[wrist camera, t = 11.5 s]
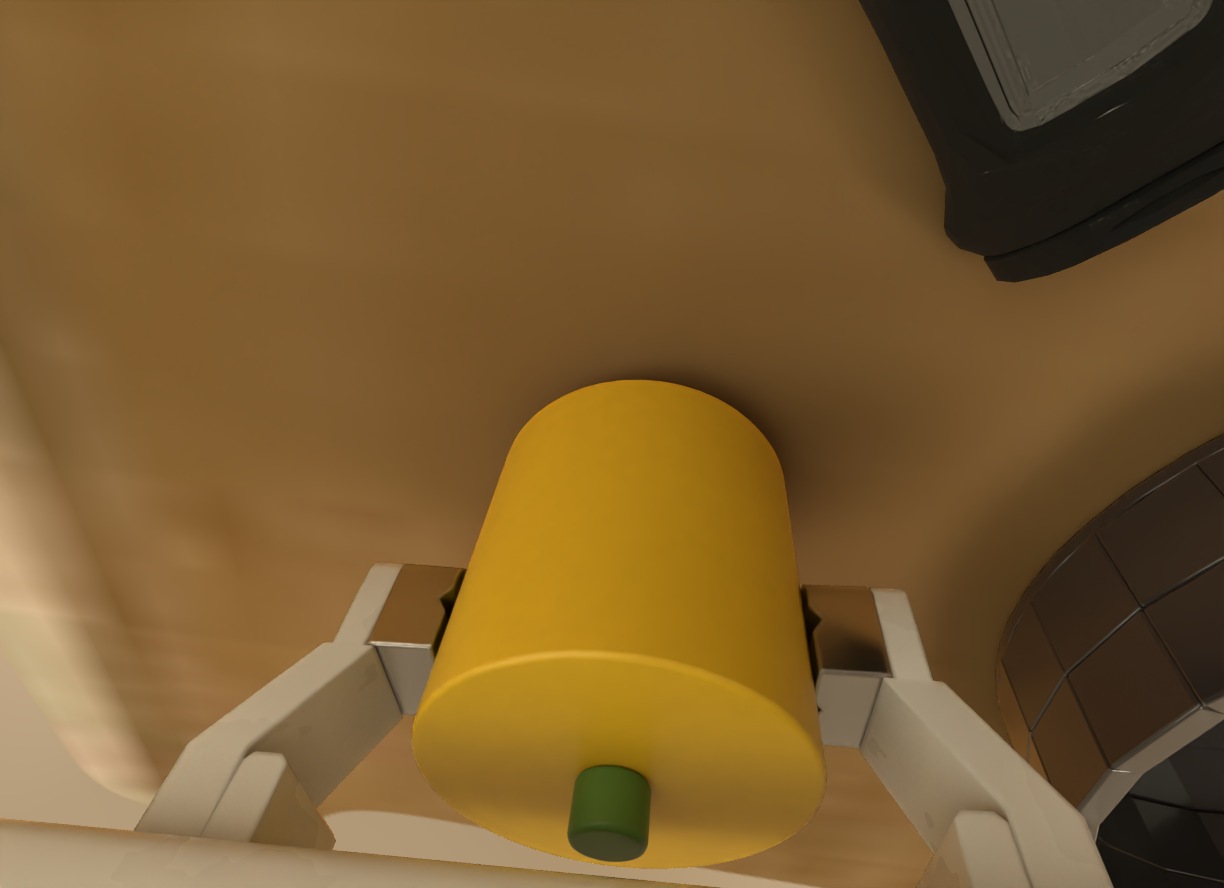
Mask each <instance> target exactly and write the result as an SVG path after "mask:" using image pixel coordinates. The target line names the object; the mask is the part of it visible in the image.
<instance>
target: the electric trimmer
mask: <svg viewBox="0 0 1224 888" xmlns="http://www.w3.org/2000/svg"><path fill="white" fill-rule="evenodd" d="M859 2H860V4H861V5H862V7H863V9H864V11H865V13H866V15H867V17H868V19H869V21H870V23H871V24H872V26H873V28H874V30H875V32H876V34H877V36H878V38H879V40H880V42H881V44H882V46H883V48H884V50H885V52H886V54H887V56H888V58H889V60H890V62H891V64H892V67H893V69H894V71H895V73H896V75H897V77H898V79H899V81H900V83H901V85H902V87H903V89H904V92H905V94H906V96H907V98H908V100H909V102H910V104H911V106H912V108H913V110H914V112H915V114H916V117H917V119H918V121H919V123H920V125H921V127H922V129H923V131H924V133H925V135H926V137H927V139H928V142H929V144H930V146H931V148H932V150H933V152H934V154H935V156H936V159H937V162H938V165H939V168H940V171H941V174H942V177H943V180H944V183H945V186H946V194H945V221H944V228H945V231H946V234H947V236H948V237H949V238H950V239H951V240H952V241H953V242H954V243H955V244H956V245H957V246H958V247H959V248H960V249H964V250H967V251H970V252H973V253H976V254H979V255H983V256H985V257H984V260H985V262H986V263H987V265H988V267H989V268H990V270H991V272H992V273H993V275H994V277H995V278H996V280H997V281H1006V282H1019V281H1024V280H1029V279H1033V278H1038V277H1043V276H1047V275H1050V274H1053V273H1056V272H1059V271H1061V270H1064V269H1067V268H1070V267H1072V266H1075V265H1077V264H1079V263H1081V262H1083V261H1086V260H1088V259H1090V258H1092V257H1094V256H1096V255H1098V254H1101V253H1103V252H1105V251H1107V250H1109V249H1111V248H1113V247H1116V246H1118V245H1120V244H1122V243H1124V242H1126V241H1128V240H1130V239H1132V238H1134V237H1136V236H1138V235H1140V234H1142V233H1144V232H1145V231H1147V230H1149V229H1151V228H1153V227H1155V226H1157V225H1159V224H1160V223H1162V222H1164V221H1166V220H1168V219H1170V218H1172V217H1174V216H1175V215H1177V214H1179V213H1181V212H1183V211H1185V210H1187V209H1188V208H1190V207H1192V206H1194V205H1196V204H1198V203H1200V202H1202V201H1203V200H1205V199H1207V198H1209V197H1211V196H1213V195H1214V194H1216V193H1218V192H1219V191H1221V190H1222V189H1224V0H859Z"/></svg>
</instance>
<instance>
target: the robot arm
mask: <svg viewBox="0 0 1224 888" xmlns="http://www.w3.org/2000/svg"><path fill="white" fill-rule="evenodd" d="M466 571H467V569H464V568H453V567H440V566H427V565H414V564H396V563H381V562H377V563H376V564H375V565H374V566H373V567H372V568H371V569H370V570H369V572H368V574H367V576H366V578H365V580H364V582H363V584H362V585H361V587H360V589H359V591H358V593H357V595H356V597H355V599H354V601H353V603H352V605H351V607H350V609H349V611H348V613H347V615H346V617H345V619H344V621H343V623H342V625H341V627H340V629H339V631H338V633H337V635H336V637H335V639H334V641H333V643H329V642H324V643H322V644H321V645H320V646H318V647H317V648H316V649H314V650H313V651H311V652H310V653H309V654H307V655H306V656H305V657H303V658H302V659H301V660H299V661H298V662H297V663H295V664H294V665H293V666H291V667H290V668H288V669H287V670H286V671H284V672H283V673H282V674H280V675H279V676H278V677H276V678H275V679H274V680H272V681H271V682H270V683H268V684H267V685H265V686H264V687H263V688H261V689H260V690H259V691H257V692H256V693H255V694H253V695H252V696H251V697H249V698H248V699H247V700H245V701H244V702H242V703H241V704H240V705H238V706H237V707H236V708H234V709H233V710H232V711H230V712H229V713H228V714H226V715H225V716H224V717H222V718H221V719H220V720H218V721H217V722H215V723H214V724H213V725H211V726H210V727H209V728H207V729H206V730H205V731H203V732H202V733H201V734H199V735H198V736H197V737H195V738H194V739H192V740H191V741H190V742H188V744H187V745H186V747H185V749H184V750H183V752H182V753H181V755H180V757H179V758H178V760H177V761H176V763H175V765H174V766H173V768H172V769H171V771H170V773H169V774H168V776H167V778H166V779H165V781H164V782H163V784H162V786H161V787H160V789H159V790H158V792H157V794H156V795H155V797H154V798H153V800H152V802H151V803H150V805H149V807H148V808H147V810H146V811H145V813H144V815H143V816H142V818H141V820H140V821H139V823H138V824H137V826H136V827H135V829H134V831H128V830H118V829H107V828H96V827H87V826H86V827H85V826H76V825H66V824H56V823H45V822H35V821H24V820H14V819H3V818H0V888H718V887H708V886H696V885H686V884H676V883H666V882H656V881H646V880H635V879H625V878H615V877H604V876H594V875H583V874H573V873H563V872H552V871H543V870H532V869H522V868H512V867H500V866H491V865H481V864H470V863H460V862H449V861H439V860H429V859H417V858H408V857H398V856H386V855H377V854H367V853H356V852H346V851H336V850H332V849H333V847H334V844H335V842H336V840H335V838H334V835H333V833H332V831H331V829H330V828H329V826H328V825H327V823H326V821H325V820H324V818H323V817H322V815H321V814H320V812H319V810H318V809H317V807H318V806H319V805H320V804H321V803H322V802H323V801H324V800H325V799H326V798H327V797H328V796H329V795H330V793H331V792H332V791H333V790H334V789H335V788H336V787H337V786H338V785H339V784H340V783H341V782H342V781H343V780H344V779H345V778H346V777H347V776H348V775H349V774H350V772H351V771H352V770H353V769H354V768H355V767H356V766H357V765H358V764H359V763H360V762H361V761H362V760H363V759H364V758H365V757H366V756H367V755H368V754H369V753H370V752H371V750H372V749H373V748H374V747H375V746H376V745H377V744H378V743H379V742H380V741H381V740H382V739H383V738H384V737H385V736H386V735H387V734H388V733H389V732H390V731H391V729H392V728H393V727H394V726H395V725H396V724H397V723H398V722H399V721H400V720H401V719H402V718H403V716H402V714H405V715H416V712H417V709H418V706H419V704H420V701H421V698H422V695H423V692H424V690H425V687H426V684H427V681H428V678H429V676H430V673H431V670H432V667H433V664H434V661H435V659H436V656H437V653H438V650H439V647H440V645H441V642H442V639H443V636H444V633H445V630H446V628H447V625H448V622H449V619H450V616H451V614H452V611H453V608H454V605H455V602H456V599H457V597H458V594H459V591H460V588H461V585H462V583H463V580H464V577H465V574H466ZM800 591H801V598H802V605H803V612H804V619H805V625H806V632H807V639H808V646H809V653H810V660H811V667H812V674H813V681H814V688H815V695H816V702H817V709H818V716H819V723H820V730H821V737H822V744H823V745H833V746H843V747H853V748H860V750H859V751H860V753H861V754H862V756H863V757H864V758H865V760H866V761H867V763H868V764H869V765H870V767H871V768H872V769H873V771H874V772H875V774H876V775H877V776H878V778H879V779H880V780H881V782H882V783H883V785H884V786H885V787H886V789H887V790H888V792H889V793H890V794H891V796H892V797H893V798H894V800H895V801H896V803H897V804H898V805H899V807H900V808H901V809H902V811H903V812H904V814H905V815H906V816H907V818H908V819H909V821H910V822H911V823H912V825H913V826H914V827H915V829H916V830H917V832H918V833H919V834H920V836H921V837H922V838H923V840H924V841H925V843H926V844H927V845H928V847H929V848H930V850H931V851H932V852H933V854H934V856H933V858H932V859H931V861H930V863H929V865H928V866H927V868H926V870H925V872H924V874H923V875H922V877H921V879H920V881H919V882H918V884H917V886H916V888H1114V887H1113V885H1112V883H1111V880H1110V878H1109V875H1108V873H1107V871H1106V868H1105V866H1104V863H1103V861H1102V859H1101V856H1100V854H1099V852H1098V849H1097V847H1096V844H1095V842H1094V840H1093V837H1092V835H1091V832H1090V830H1089V828H1088V825H1087V823H1086V821H1085V818H1084V816H1083V815H1082V814H1080V813H1079V812H1078V811H1077V810H1076V809H1075V808H1074V807H1073V806H1072V805H1071V804H1070V803H1069V802H1068V801H1067V800H1066V799H1065V798H1064V797H1063V796H1062V795H1061V794H1060V793H1059V792H1058V791H1057V790H1056V789H1055V788H1054V787H1052V786H1051V785H1050V784H1049V783H1048V782H1047V781H1046V780H1045V779H1044V778H1043V777H1042V776H1041V775H1040V774H1039V773H1038V772H1037V771H1036V770H1035V769H1034V768H1033V767H1032V766H1031V765H1030V764H1029V763H1028V762H1027V761H1026V760H1025V759H1023V758H1022V757H1021V756H1020V755H1019V754H1018V753H1017V752H1016V751H1015V750H1014V749H1013V748H1012V747H1011V746H1010V745H1009V744H1008V743H1007V742H1006V741H1005V740H1004V739H1003V738H1002V737H1001V736H1000V735H999V734H998V733H997V732H995V731H994V730H993V729H992V728H991V727H990V726H989V725H988V724H987V723H986V722H985V721H984V720H983V719H982V718H981V717H980V716H979V715H978V714H977V713H976V712H975V711H974V710H973V709H972V708H971V707H970V706H969V705H967V704H966V703H965V702H964V701H963V700H962V699H961V698H960V697H959V696H958V695H957V694H956V693H955V692H954V691H953V690H952V689H951V688H950V687H949V686H948V685H947V684H946V683H945V682H941V681H933V678H932V674H931V671H930V668H929V664H928V661H927V658H926V655H925V651H924V648H923V645H922V642H921V638H920V635H919V632H918V628H917V625H916V622H915V619H914V615H913V612H912V609H911V606H910V602H909V599H908V596H907V594H906V593H905V591H904V590H903V589H892V588H871V587H869V588H867V587H857V586H831V585H805V584H803V586H802V588H801V590H800Z"/></svg>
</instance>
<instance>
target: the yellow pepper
mask: <svg viewBox="0 0 1224 888" xmlns="http://www.w3.org/2000/svg"><path fill="white" fill-rule="evenodd" d="M412 750H413V754H414V757H415V761H416V764H417V766H418V768H419V770H420V772H421V774H422V775H423V777H424V779H425V780H426V781H427V782H428V784H429V785H430V786H431V788H432V789H433V790H434V791H435V792H436V793H437V794H438V795H439V796H440V797H441V798H442V799H443V800H444V801H445V802H446V803H447V804H449V805H450V806H451V807H452V808H454V809H455V810H456V811H458V812H459V813H460V814H462V815H463V816H465V817H466V818H468V819H470V820H471V821H473V822H474V823H476V824H478V825H480V826H481V827H483V828H485V829H487V830H489V831H491V832H493V833H495V834H498V835H499V836H502V837H504V838H506V839H508V840H511V841H513V842H516V843H519V844H521V845H524V846H527V847H530V848H532V849H535V850H539V851H542V852H545V853H549V854H552V855H556V856H560V857H564V858H568V859H573V860H577V861H583V862H588V863H594V864H600V865H608V866H616V867H629V868H650V869H651V868H652V869H655V868H656V869H667V868H687V867H696V866H705V865H712V864H717V863H723V862H728V861H732V860H736V859H740V858H744V857H747V856H751V855H753V854H756V853H759V852H762V851H764V850H767V849H769V848H771V847H773V846H775V845H777V844H779V843H781V842H783V841H785V840H786V839H788V838H789V837H791V836H792V835H794V834H795V833H797V832H798V831H799V830H800V829H801V828H802V827H804V826H805V825H806V824H807V823H808V822H809V821H810V819H811V818H812V817H813V815H814V814H815V813H816V811H817V810H818V808H819V806H820V803H821V801H822V799H823V796H824V793H825V788H826V781H827V774H826V765H825V757H824V750H823V744H822V737H821V730H820V723H819V716H818V709H817V702H816V695H815V688H814V681H813V674H812V667H811V660H810V653H809V646H808V639H807V632H806V625H805V619H804V612H803V605H802V598H801V591H800V584H799V577H798V570H797V563H796V556H795V549H794V542H793V535H792V528H791V521H790V514H789V507H788V501H787V494H786V487H785V480H784V475H783V471H782V468H781V465H780V461H779V459H778V457H777V455H776V453H775V451H774V449H773V447H772V446H771V445H770V443H769V442H768V440H767V439H766V438H765V436H764V435H763V434H762V433H761V432H760V430H759V429H758V428H757V427H756V426H755V425H754V424H753V423H752V422H751V421H750V420H749V419H747V418H746V417H745V416H743V415H742V414H741V413H740V412H738V411H737V410H736V409H735V408H733V407H731V406H729V405H728V404H726V403H724V402H723V401H721V400H719V399H718V398H715V397H713V396H711V395H708V394H706V393H704V392H702V391H699V390H696V389H693V388H689V387H686V386H683V385H679V384H674V383H668V382H663V381H653V380H618V381H611V382H605V383H599V384H595V385H592V386H588V387H584V388H581V389H578V390H576V391H574V392H571V393H569V394H566V395H564V396H562V397H561V398H559V399H557V400H555V401H554V402H552V403H550V404H548V405H547V406H546V407H544V408H543V409H542V410H541V411H539V412H538V413H537V414H535V415H534V416H533V417H532V418H531V419H530V420H529V421H528V423H527V424H526V425H525V426H524V427H523V428H522V430H521V431H520V432H519V434H518V435H517V437H516V438H515V440H514V442H513V444H512V446H511V449H510V451H509V453H508V456H507V459H506V461H505V464H504V467H503V470H502V473H501V476H500V478H499V481H498V484H497V487H496V490H495V492H494V495H493V498H492V501H491V504H490V507H489V509H488V512H487V515H486V518H485V521H484V523H483V526H482V529H481V532H480V535H479V538H478V540H477V543H476V546H475V549H474V552H473V554H472V557H471V560H470V563H469V566H468V568H467V571H466V574H465V577H464V580H463V583H462V585H461V588H460V591H459V594H458V597H457V599H456V602H455V605H454V608H453V611H452V614H451V616H450V619H449V622H448V625H447V628H446V630H445V633H444V636H443V639H442V642H441V645H440V647H439V650H438V653H437V656H436V659H435V661H434V664H433V667H432V670H431V673H430V676H429V678H428V681H427V684H426V687H425V690H424V692H423V695H422V698H421V701H420V704H419V706H418V709H417V712H416V715H415V718H414V722H413V727H412Z"/></svg>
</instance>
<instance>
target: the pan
mask: <svg viewBox="0 0 1224 888" xmlns="http://www.w3.org/2000/svg"><path fill="white" fill-rule="evenodd" d="M995 677H996V687H997V697H998V700H999V710H1000V713H1001V716H1002V719H1003V721H1004V724H1005V727H1006V730H1007V732H1008V735H1009V738H1010V741H1011V743H1012V746H1013V749H1014V750H1015V751H1016V752H1017V753H1018V754H1019V755H1020V756H1021V757H1022V758H1023V759H1025V760H1026V761H1027V762H1028V763H1029V764H1030V765H1031V766H1032V767H1033V768H1034V769H1035V770H1036V771H1037V772H1038V773H1039V774H1040V775H1041V776H1042V777H1043V778H1044V779H1045V780H1046V781H1047V782H1048V783H1049V784H1050V785H1051V786H1052V787H1054V788H1055V789H1056V790H1057V791H1058V792H1059V793H1060V794H1061V795H1062V796H1063V797H1064V798H1065V799H1066V800H1067V801H1068V802H1069V803H1070V804H1071V805H1072V806H1073V807H1074V808H1075V809H1076V810H1077V811H1078V812H1079V813H1080V814H1082V815H1083V816H1084V818H1085V821H1086V823H1087V825H1088V828H1089V830H1090V832H1091V835H1092V837H1093V840H1094V842H1095V844H1096V847H1097V849H1098V852H1099V854H1100V856H1101V859H1102V861H1103V863H1104V866H1105V868H1106V871H1107V873H1108V875H1109V878H1110V880H1111V883H1112V885H1113V887H1114V888H1224V434H1223V435H1221V436H1219V437H1217V438H1215V439H1213V440H1211V441H1210V442H1208V443H1206V444H1204V445H1202V446H1200V447H1198V448H1196V449H1195V450H1193V451H1191V452H1189V453H1187V454H1185V455H1184V456H1182V457H1181V458H1179V459H1178V460H1176V461H1175V462H1173V463H1171V464H1170V465H1168V466H1167V467H1165V468H1164V469H1162V470H1160V471H1159V472H1157V473H1156V474H1154V475H1153V476H1151V477H1150V478H1148V479H1146V480H1145V481H1143V482H1142V483H1140V484H1139V485H1137V486H1135V487H1134V488H1133V489H1131V490H1130V491H1129V492H1127V493H1126V494H1125V495H1123V496H1122V497H1121V498H1120V499H1118V500H1117V501H1116V502H1114V503H1113V504H1112V505H1111V506H1109V507H1108V508H1107V509H1105V510H1104V511H1103V512H1102V513H1100V514H1099V515H1098V516H1096V517H1095V518H1094V519H1092V520H1091V521H1090V522H1089V523H1088V524H1087V525H1086V526H1084V527H1083V528H1082V529H1081V530H1080V531H1079V532H1078V533H1077V534H1076V535H1075V536H1074V537H1073V538H1072V539H1071V540H1070V541H1069V542H1068V543H1067V544H1066V545H1065V546H1064V547H1062V548H1061V549H1060V550H1059V551H1058V552H1057V553H1056V554H1055V555H1054V556H1053V557H1052V559H1051V560H1050V561H1049V562H1048V564H1047V565H1046V566H1045V567H1044V568H1043V570H1042V571H1041V572H1040V573H1039V575H1038V576H1037V577H1036V578H1035V579H1034V581H1033V582H1032V583H1031V584H1030V586H1029V587H1028V588H1027V590H1026V591H1025V593H1024V595H1023V596H1022V598H1021V600H1020V601H1019V603H1018V605H1017V606H1016V608H1015V610H1014V612H1013V613H1012V615H1011V617H1010V618H1009V621H1008V624H1007V626H1006V629H1005V632H1004V634H1003V637H1002V640H1001V642H1000V645H999V650H998V657H997V664H996V671H995Z"/></svg>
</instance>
